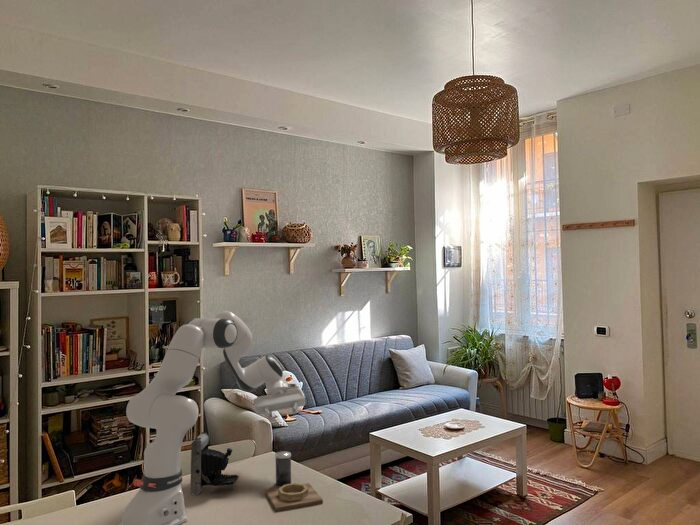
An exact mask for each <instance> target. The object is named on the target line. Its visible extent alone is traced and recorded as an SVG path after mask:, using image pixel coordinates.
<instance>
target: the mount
mask: <svg viewBox="0 0 700 525" xmlns="http://www.w3.org/2000/svg"><path fill="white" fill-rule="evenodd" d="M265 495H266V496H267V499H268V500H269V502H270V503H271V505H272V507H273V509H274V511H275V512H279V511H280V512H281V511H287V510H291V509H298V508H304V507H308V506H314V505H318V504H319V505H320V504H323V503H324V502H323V501H324V500H323V498H322V497H321V496H320V494H319V493H318V492H317V491H316V490H315V488H314V487H313V486H312V484H310V483H309V482H307V483H306V482H305V483H296V482H293V483H292V482H291V484H286V485H283V486H282V487H275V488H270V489H265Z"/></svg>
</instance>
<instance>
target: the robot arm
mask: <svg viewBox="0 0 700 525" xmlns="http://www.w3.org/2000/svg"><path fill="white" fill-rule="evenodd" d="M252 343H253V334H252V331H251V330H250V328H249V327H248V326H247V324H246V323H245V322H244V321H243V320H242V319H241V318H240V317H239V316H238V315H236V314H235V313H234V312H231V311H229V310H223V311H220V312H218V313H217V314H216V315H215V316H214V318H213V317H201V318H195V317H194V318H190V319H188V320H186V321H185V322H183V324H182V325H180V326H179V327H178V328H177V330H176V332H175V334H174V335H173V337H172V338H171V341H170V342H169V345H168V347H167V350H166V352H165V354H164V357H163V360H162V362H161V365H160V367H159V369H158V371H157V373H156V374H155V375H154V377H153V379H152V380H151V381H150V382H149V384H148V385H147V386H146V387H144V388H143V390H141V391H140V392H139V393H137V394H135V395H134V396H132V397H130V399H129V401H128V403H127V405H126V408H125V409H126V410H125V411H126V412H125V413H126V414H125V415H126V418H127V419H128V421H129V422H130V423H132V424H134V425H136V426H138V427H141V428H146V429H155V431H156V435H155V439H154V440H153V441H152V442H150V443H149V444H147V446H146V448H144V452H143V456H144V458H143V459H144V460H143V466H144V467H143V468H144V469H143V470H144V472H143V475H142V478H141V479H138V478H136V479H134V481H133V486H134V487H139V490H138V491H137V492H136V493H135V495H134V496H133V497H132V499H131V500H130V502H128V504H127V505H126V506H125V508H124V509H123V512H122V520H121V522H120V523H119V524H118V525H181V524H183V523H185V522H186V521H188V516H187V510H186V507H185V499H184V493H183V492H184V491H183V489H182V481H183V470H182V468H181V462H182V461H181V458H182V456H181V455H182V444H183V441H184V438H185V436H186V434H187V432H188V431H189V430H191V428H193V427H194V425H196V422H197V421H198V418H199V413H200V412H199V406H198V404H197V402H196V401H195V400H194V399H191V398H188V397H187V396H184V395H176V394H177V393H178V392H179V391H180V390H181V389H183V388H184V387H186V386H188V385H189V384H190V383H191V382H192V380H193V377H194V374H195V372H196V370H197V367H198V363H199V360H200V357H201V354H202V350H203V349H209V350H210V349H222V355H223V357H224V360H225V362H226V364H227V366H228V368H229V369H230V371H231V373H232V375H233V377H234V378H235V381H236V384H237V385H238V387H239V389H240V390H242V391H243V392H246V393H251V392H253V391H254V390H256V389H257V388H259V387H260V386H262V385H263V384H265V388H266V395H260V396H257V397H256V398H254V399H253V405H254V410H255V414H256V415H261V414H265V415H266V416H268V418H272V417H273V413H272V412H278V411H283V410H288V409H289V410H290V409H291V412H292V414H294V413H297V410H298V408H299V407H304V406H306V403H307V402H306V396H305V394H304V392H303V390H302V389H301V388H300V386H299V384H298V383H287V380H286V377H285V375H284V371H283V367H282V365H281V364H280V362H279V360H278V359H277V358H275V357H274V356H271V355H264V356H262V357H260V358H259V359H257V360H256V361H254V362H252V363H251V364H249V365H247V366H245V367H242V366H241V364H240V362H239V360H240V359H241V358H242V357H243V356H244V355H245V354H246V353H247V352H248V350H250V348H251V345H252Z"/></svg>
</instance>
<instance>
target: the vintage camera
mask: <svg viewBox="0 0 700 525" xmlns="http://www.w3.org/2000/svg"><path fill="white" fill-rule="evenodd" d="M209 439H210V436H209V434H208V433H207V432H204V431H201V433H200V434H199V435H198V436H197V437H196V438H194V440H193V441H192V443H191V445H190V446H191V450H190V451H191V453H190V493H191V495H192V496H198V495H199V494H200V493H201V492H202V491H203V489H204V488H205V487H218V486H219V487H221V486H232V491H234V486H235V484H236V483H237V481H238V479H239V478H240V475H238V474H223V473H222V471H223V472H224V471H226V468H227V467H228V464H229V460H230V458H229V457H230V456H231V455H232V452H233V448H230V447H228V448H226V452H225V453H223V452H222V451H219V450H215V449H211V448H209V442H210V440H209Z"/></svg>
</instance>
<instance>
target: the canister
mask: <svg viewBox="0 0 700 525" xmlns="http://www.w3.org/2000/svg"><path fill="white" fill-rule="evenodd" d="M274 457H275V485H277V487H279V486H281V487H282V486H283V485H286V484H292V462H291V461H292V453H291V452H290V451H285V450H284V451H277V452H276V453H275V456H274Z"/></svg>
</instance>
